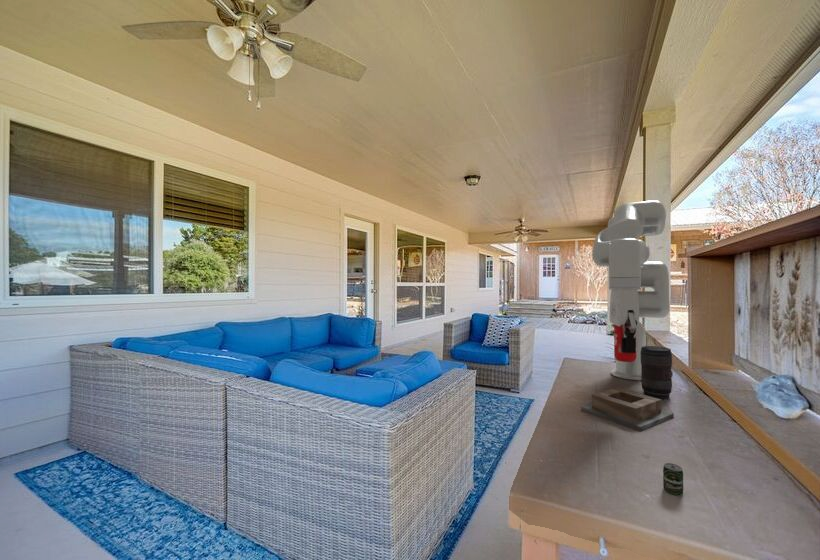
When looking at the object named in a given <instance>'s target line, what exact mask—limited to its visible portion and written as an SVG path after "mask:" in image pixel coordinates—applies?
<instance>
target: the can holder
mask: <svg viewBox="0 0 820 560" xmlns="http://www.w3.org/2000/svg"><path fill="white" fill-rule="evenodd" d="M580 411H582V412H585V413H588V414H590V415H595V416H597V417H599V418H603V419H604V420H605V419H606V420H608V421H611V422H613V423H617V424H620V425H622V426H625V427H629V428H631V429H634V430H637V431H639V432H642V431H644V430H646V429H649V428H651V427H654V426H657V425H658V424H660V423H663V422H665V421H668V420H669V419H672V418H674V415H675V414H674V413H673V412H670V411H666V410H663V409H662V399H657V398H654V397H650V396H646V395H644V393H643V394H642V393H639V392H634V391H630V390H627V389H623V388H619V387H614V388H610V389H607V390H603V391H601V392H597V393H593V394H591V402H590V403H588V404H584V405H581V406H580Z"/></svg>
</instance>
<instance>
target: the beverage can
mask: <svg viewBox="0 0 820 560" xmlns="http://www.w3.org/2000/svg"><path fill="white" fill-rule="evenodd" d="M625 326H629V324H625ZM626 330H627V329H626ZM613 335H614V338H613V339H614V341H613V345H614V346H613V347H614V350H613V352H614V353H613V354H614V358H615V361H616V360H617V361H621V362H635V359H636V353H623V352H622V337H623V331H622V325H621V326H620V327H619V326H616V325H615V324H613Z"/></svg>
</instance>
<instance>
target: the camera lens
mask: <svg viewBox="0 0 820 560" xmlns="http://www.w3.org/2000/svg"><path fill="white" fill-rule="evenodd" d="M640 353H641V380H640V383H641V389H642V391H643V395H646V396H650V397H654V398H657V399H661V400H668V399H670V394H671V393H672V388H673V382H672V381H673V379H672V378H673V377H674V376H673V375H674V374H673V371H672V367H673V354H672V350H671V348H668V347H664V346H656V345H646V346H643V347H641V352H640Z"/></svg>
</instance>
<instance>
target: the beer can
mask: <svg viewBox="0 0 820 560" xmlns="http://www.w3.org/2000/svg"><path fill="white" fill-rule="evenodd" d="M662 473H663V474H662V479H663V480H662V482H663V483H662V485H663V490H665V492H667V493H669V494H670V495H674V496H682V495H683V494H684V472H683V468H682V467H681V466H680V465H678V464H675V463H671V462H667V463H663V467H662Z"/></svg>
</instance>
